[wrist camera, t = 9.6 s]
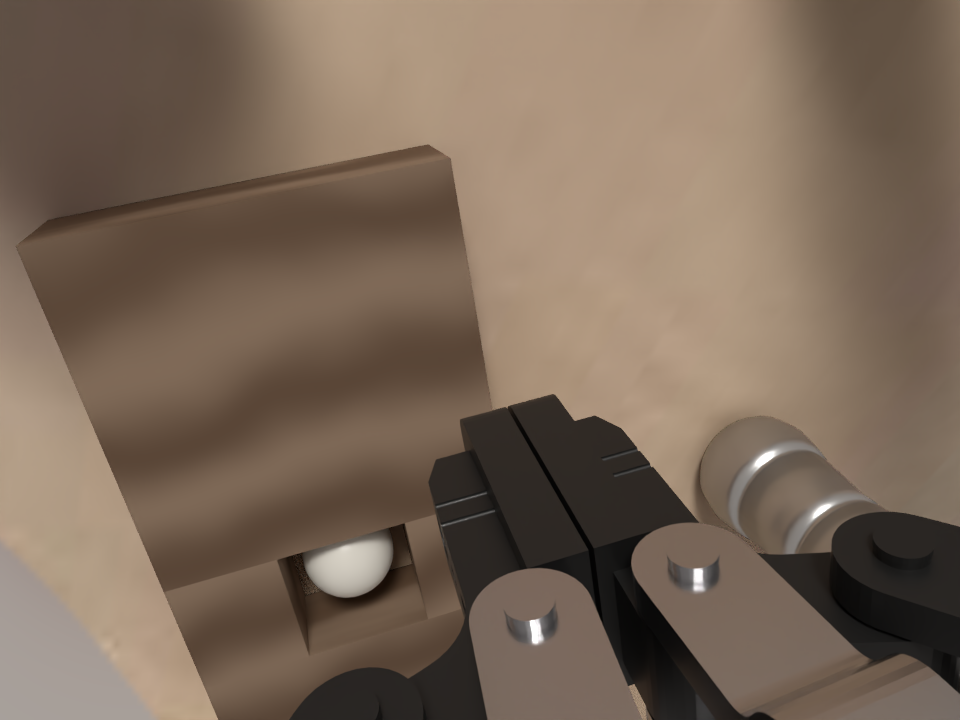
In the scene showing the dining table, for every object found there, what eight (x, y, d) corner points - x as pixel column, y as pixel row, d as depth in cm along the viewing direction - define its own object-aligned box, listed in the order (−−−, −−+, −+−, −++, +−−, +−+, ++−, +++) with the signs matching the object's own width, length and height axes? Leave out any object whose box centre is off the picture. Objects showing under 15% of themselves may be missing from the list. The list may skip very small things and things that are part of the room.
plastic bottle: (803, 424, 45) (1155, 671, 27) (742, 515, 47) (1037, 805, 29) (726, 387, 43) (1058, 633, 25) (664, 485, 44) (934, 782, 26)
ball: (378, 486, 40) (383, 505, 36) (399, 566, 40) (407, 594, 36) (294, 510, 39) (289, 533, 35) (316, 591, 40) (314, 624, 35)
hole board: (48, 220, 31) (15, 246, 27) (428, 144, 33) (450, 158, 29) (233, 677, 41) (229, 745, 37) (507, 592, 44) (531, 647, 40)
